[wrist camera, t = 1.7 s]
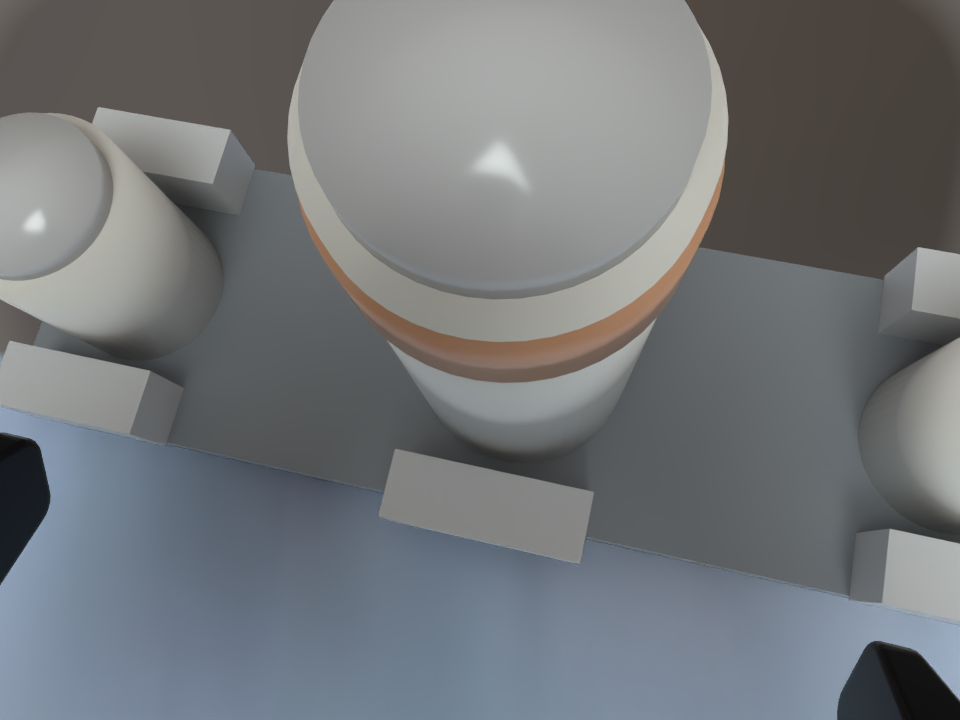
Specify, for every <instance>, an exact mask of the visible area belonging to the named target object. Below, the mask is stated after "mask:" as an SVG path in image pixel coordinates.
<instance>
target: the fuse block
mask: <svg viewBox="0 0 960 720" xmlns="http://www.w3.org/2000/svg"><path fill="white" fill-rule="evenodd" d="M92 124H93V125H94V126H96V127H97V128H99V129H100V130H101V131H103V132H104V133H105V134H106V135H107V136H108V137H109V138H110V139H111V140H112V141H113V142H114V143H115V144H116V145H117V146H118V147H119V148H120V149H121V150H122V151H123V152H124V153H125V154H126V155H127V156H128V157H129V158H130V159H131V160H132V161H133V162H134V163H135V164H136V166H137V167H138V168H139V169H140V170H141V171H142V172H143V173H144V174H145V175H146V176H147V177H148V178H149V179H150V180H151V181H152V182H153V183H154V184H155V185H156V186H157V187H158V188H159V189H160V190H161V191H162V192H163V193H164V194H165V195H166V196H167V197H168V198H169V199H170V200H171V201H172V202H173V203H174V204H175V205H176V206H177V207H178V208H179V209H180V210H181V211H182V212H183V213H184V214H185V215H186V216H187V217H188V218H189V219H190V220H191V221H192V222H193V223H194V224H195V225H196V226H197V227H198V228H199V229H200V230H201V231H202V232H203V233H204V234H205V235H206V236H207V237H208V238H209V240H210V241H211V242H212V244H213V245H214V247H215V249H216V251H217V253H218V255H219V258H220V261H221V266H222V272H223V285H222V292H221V297H220V300H219V303H218V306H217V309H216V311H215V313H214V315H213V317H212V318H211V320H210V321H209V323H208V324H207V326H206V327H205V328H204V329H203V330H202V332H201V333H200V334H199V335H198V336H197V337H196V338H194V339H193V340H192V341H191V342H190V343H188V344H187V345H186V346H184V347H183V348H181V349H179V350H177V351H176V352H173V353H171V354H169V355H166V356H163V357H160V358H156V359H151V360H139V361H134V360H125V359H121V358H117V357H115V356H112V355H110V354H107V353H105V352H103V351H101V350H99V349H97V348H95V347H93V346H91V345H89V344H87V343H86V342H84V341H82V340H80V339H78V338H76V337H74V336H72V335H70V334H68V333H66V332H64V331H62V330H60V329H58V328H56V327H54V326H52V325H50V324H48V323H46V322H44V321H42V323H41V326H40V328H39V331H38V334H37V336H36V339H35V342H34V345H33V346H32V345H27V344H22V343H18V342H13V341H9V344H8V346H7V349H6V352H5V354H4V357H3V359H2V362H1V365H0V406H1V407H5V408H8V409H11V410H14V411H18V412H21V413H24V414H27V415H31V416H34V417H38V418H43V419H47V420H52V421H56V422H61V423H65V424H69V425H74V426H78V427H83V428H87V429H92V430H96V431H100V432H105V433H109V434H114V435H118V436H123V437H127V438H131V439H136V440H140V441H145V442H149V443H154V444H158V445H163V446H166V444H167V445H172V446H176V447H181V448H185V449H189V450H194V451H198V452H203V453H207V454H212V455H216V456H221V457H225V458H229V459H234V460H238V461H243V462H247V463H252V464H256V465H261V466H265V467H269V468H274V469H278V470H283V471H287V472H292V473H296V474H300V475H305V476H309V477H314V478H318V479H323V480H327V481H332V482H336V483H340V484H345V485H349V486H354V487H358V488H363V489H367V490H371V491H376V492H380V493H384V495H383V499H382V503H381V507H380V510H379V514H378V517H381V518H383V519H386V520H389V521H392V522H396V523H401V524H405V525H409V526H414V527H418V528H422V529H427V530H431V531H435V532H440V533H444V534H448V535H453V536H457V537H462V538H466V539H470V540H475V541H479V542H483V543H488V544H492V545H496V546H501V547H505V548H509V549H514V550H518V551H523V552H527V553H531V554H536V555H540V556H544V557H549V558H553V559H557V560H562V561H566V562H570V563H575V564H579V563H581V558H582V553H583V548H584V542H585V539H589V540H593V541H598V542H602V543H607V544H611V545H616V546H620V547H625V548H629V549H633V550H638V551H642V552H647V553H651V554H656V555H660V556H664V557H669V558H673V559H678V560H682V561H687V562H691V563H696V564H700V565H704V566H709V567H713V568H718V569H722V570H727V571H731V572H735V573H740V574H744V575H749V576H753V577H758V578H762V579H767V580H771V581H775V582H780V583H784V584H789V585H793V586H798V587H802V588H807V589H811V590H815V591H820V592H824V593H829V594H833V595H838V596H842V597H846V598H849V601H854V602H858V603H863V604H867V605H872V606H876V607H881V608H885V609H889V610H894V611H898V612H903V613H907V614H912V615H916V616H920V617H925V618H929V619H934V620H938V621H943V622H947V623H951V624H956V625H960V535H952V534H944V533H940V532H936V531H932V530H929V529H926V528H924V527H921V526H919V525H917V524H915V523H913V522H911V521H909V520H908V519H906V518H905V517H903V516H902V515H900V514H899V513H898V512H896V511H895V510H894V509H893V508H892V507H891V506H889V505H888V504H887V502H886V501H885V500H884V499H883V498H882V497H881V496H880V495H879V493H878V492H877V491H876V489H875V488H874V486H873V485H872V483H871V481H870V479H869V478H868V476H867V473H866V471H865V468H864V466H863V463H862V459H861V455H860V449H859V426H860V420H861V416H862V413H863V410H864V408H865V406H866V403H867V401H868V400H869V398H870V397H871V395H872V394H873V392H874V391H875V390H876V389H877V388H878V386H879V385H880V384H881V383H883V382H884V381H885V380H886V379H887V378H889V377H890V376H892V375H893V374H895V373H897V372H898V371H900V370H902V369H904V368H905V367H907V366H909V365H911V364H913V363H914V362H916V361H918V360H920V359H922V358H923V357H925V356H927V355H929V354H931V353H932V352H934V351H936V350H938V349H939V348H941V347H943V346H945V345H947V344H948V343H950V342H952V341H954V340H956V339H957V338H959V337H960V254H955V253H949V252H943V251H937V250H932V249H926V248H920V247H918V248H917V249H916V250H914V251H913V252H912V253H911V254H909V255H908V256H907V257H906V258H905V259H904V260H902V261H901V262H900V263H899V264H898V265H897V266H895V267H894V268H893V269H892V270H891V271H890V272H888V273H887V274H886V275H885V276H884V280H883V279H877V278H872V277H866V276H860V275H855V274H848V273H843V272H837V271H832V270H826V269H820V268H815V267H809V266H804V265H798V264H791V263H787V262H781V261H775V260H770V259H764V258H758V257H752V256H747V255H741V254H735V253H729V252H724V251H719V250H713V249H707V248H702V247H698V249H697V251H696V253H695V255H694V257H693V259H692V261H691V263H690V265H689V267H688V269H687V271H686V273H685V275H684V277H683V279H682V281H681V283H680V285H679V287H678V288H677V290H676V292H675V294H674V296H673V297H672V298H671V300H670V301H669V302H668V304H667V305H666V307H665V308H664V309H663V311H662V312H661V313H660V315H659V316H658V317H657V318H656V321H655V323H654V325H653V327H652V329H651V331H650V334H649V336H648V338H647V340H646V342H645V344H644V347H643V349H642V351H641V353H640V355H639V358H638V360H637V362H636V364H635V366H634V368H633V371H632V373H631V375H630V377H629V379H628V381H627V384H626V386H625V388H624V390H623V392H622V395H621V397H620V399H619V401H618V403H617V405H616V407H615V409H614V411H613V413H612V415H611V416H610V417H609V419H608V420H607V422H606V423H605V424H604V426H603V427H602V428H601V429H600V430H599V431H598V432H597V433H596V434H595V435H594V436H593V437H592V438H591V439H589V440H588V441H587V442H586V443H584V444H583V445H582V446H580V447H578V448H577V449H575V450H573V451H572V452H569V453H567V454H565V455H562V456H560V457H557V458H554V459H550V460H547V461H541V462H534V463H514V462H505V461H501V460H497V459H493V458H490V457H487V456H485V455H482V454H480V453H478V452H476V451H474V450H472V449H470V448H469V447H467V446H466V445H464V444H463V443H462V442H460V441H459V440H458V439H456V438H455V437H454V436H453V435H452V434H451V433H450V432H449V431H448V430H447V429H446V428H445V426H444V425H443V424H442V423H441V421H440V420H439V419H438V417H437V416H436V414H435V413H434V411H433V410H432V408H431V406H430V405H429V403H428V402H427V400H426V399H425V397H424V396H423V394H422V393H421V391H420V390H419V388H418V387H417V385H416V384H415V382H414V381H413V379H412V378H411V376H410V375H409V373H408V372H407V370H406V369H405V367H404V366H403V364H402V362H401V361H400V359H399V358H398V356H397V355H396V353H395V352H394V350H393V349H392V347H391V346H390V344H389V343H388V341H387V340H386V339H385V338H384V337H383V336H382V335H381V334H380V333H379V332H378V331H377V330H376V329H375V328H374V327H373V326H372V325H371V324H369V322H368V321H367V320H366V319H365V317H364V316H363V315H362V313H361V312H360V311H359V310H358V308H357V307H356V306H355V304H354V303H353V302H352V300H351V299H350V297H349V296H348V294H347V293H346V291H345V290H344V289H343V287H342V286H341V284H340V283H339V281H338V280H337V278H336V277H335V276H334V274H333V273H332V271H331V270H330V268H329V267H328V265H327V264H326V263H325V261H324V259H323V258H322V256H321V254H320V252H319V251H318V249H317V247H316V245H315V244H314V242H313V240H312V238H311V236H310V233H309V231H308V228H307V226H306V223H305V221H304V218H303V216H302V212H301V208H300V204H299V199H298V195H297V192H296V189H295V185H294V181H293V177H292V175H288V174H282V173H277V172H271V171H265V170H259V169H254V168H255V164H254V162H253V161H252V160H251V158H250V157H249V155H248V154H247V152H246V151H245V150H244V148H243V147H242V145H241V144H240V143H239V141H238V140H237V138H236V137H235V135H234V134H233V132H232V131H231V130H228V129H222V128H217V127H211V126H204V125H199V124H194V123H188V122H182V121H176V120H169V119H164V118H158V117H153V116H146V115H141V114H135V113H129V112H123V111H117V110H111V109H106V108H100V107H98V109H97V112H96V115H95V117H94V120H93V122H92Z"/></svg>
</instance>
